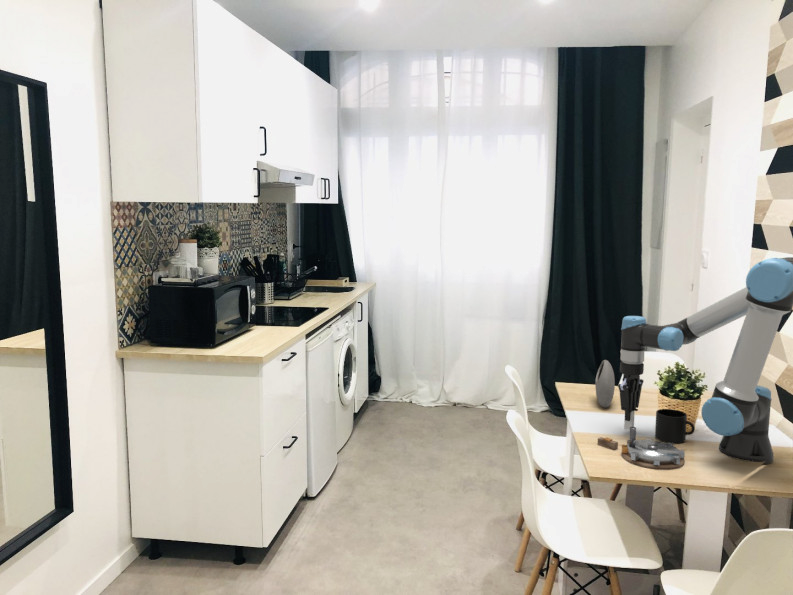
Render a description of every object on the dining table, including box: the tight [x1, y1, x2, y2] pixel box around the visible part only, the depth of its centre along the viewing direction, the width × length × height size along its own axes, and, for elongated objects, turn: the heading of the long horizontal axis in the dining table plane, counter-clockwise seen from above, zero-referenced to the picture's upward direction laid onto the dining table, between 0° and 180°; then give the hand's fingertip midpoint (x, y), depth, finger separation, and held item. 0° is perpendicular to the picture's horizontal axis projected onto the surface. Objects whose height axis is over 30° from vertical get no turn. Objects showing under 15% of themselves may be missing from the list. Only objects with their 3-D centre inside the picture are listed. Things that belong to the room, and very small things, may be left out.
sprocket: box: [621, 426, 685, 466], centre depth 193 cm, size 18×18×8 cm
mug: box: [654, 408, 696, 444], centre depth 210 cm, size 9×12×9 cm
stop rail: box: [597, 437, 619, 451], centre depth 202 cm, size 6×2×3 cm, turn 41°
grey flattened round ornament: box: [595, 359, 616, 409], centre depth 246 cm, size 18×7×19 cm, turn 165°
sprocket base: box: [620, 451, 685, 471], centre depth 193 cm, size 18×18×1 cm
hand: (628, 429), depth 215 cm, fingers closed
